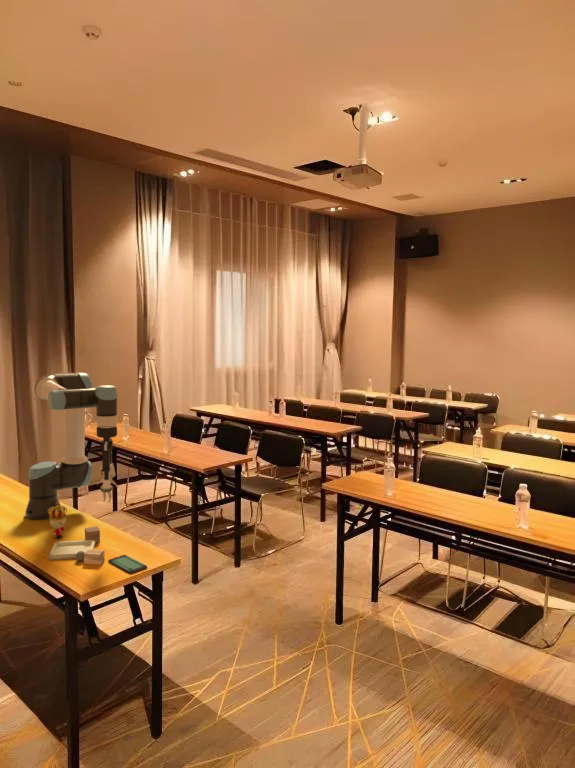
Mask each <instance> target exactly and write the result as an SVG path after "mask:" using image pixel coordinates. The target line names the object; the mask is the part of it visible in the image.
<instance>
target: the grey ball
mask: <svg viewBox="0 0 575 768" xmlns="http://www.w3.org/2000/svg"><path fill="white" fill-rule="evenodd" d="M84 553H85V552H83V551H79V552H78V553H77V554H76V558H75V559H76V560H77V561H79V562H83V561H84Z"/></svg>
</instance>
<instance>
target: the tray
mask: <svg viewBox="0 0 575 768" xmlns="http://www.w3.org/2000/svg"><path fill="white" fill-rule="evenodd" d="M95 546H96V543H95V539H94V540H85V539H80V540H64V541H62V540H61V541H55V542H54V544H53V545H52V548H51V550H50V552H49V554H48V560H49V561H51V560H55V561H56V560H68V559H76V554H77V553H78V552H79V551H83V552H86V551H87V550H89V549H94V550H95Z"/></svg>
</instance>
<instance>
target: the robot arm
mask: <svg viewBox="0 0 575 768" xmlns="http://www.w3.org/2000/svg"><path fill="white" fill-rule="evenodd" d="M117 389H118V388H117V387H116V386H115V385H108V384H107V385H106V384H104V385H101V384H100V385H98V386H93V382H92V379H91V377H90V375H89V374H88V373H86V372H64V373H63V372H62V373H57V372H55V373H48V374H46V375H43V376H42V377H40V378H39V379H38V380H37V381H36V382H35V384H34V392H35V395H36V396H37V397H38V398H39V399H41V400H43V401H47V402H48V403H47V404H48V407H49V409H50V410H52V411H62V410H64V456H63V457H62V458H60V459H61V460H60V462H61V463H59V464H57V462H56V461H54V460H53V461H50V460H49V461H42V462H38V463H36V464H33V465H32V466H30V467H29V468H28V469H29V470H28V478H27V479H28V492H29V493H28V494H29V495H28V496H29V497H28V502H27V504H26V508H25V518H27V519H30V520H34V521H35V520H38V521H39V520H48V519H49V513H48V509H50V508H51V507H53V506H54V507H55V506H56V505H57V504H58V505H59V506H60V507H61V506H62V505H61V503H60V500H59V497H58V491H61V490H62V491H63V490H67V489H75V488H82V487H87V486H88V485H90V483H91V481H92V477H93V469H92V467H93V465H92V462H91V461H90V460H89V459H88V457H87V456H86V455H85V442H86V441H85V440H86V439H85V435H86V434H85V433H86V432H85V430H86V429H85V428H86V412H85V411H86V409H91V408H95V410H96V411H95V412H96V417H95V418H94V420H95V421H96V437H97V438H102V440H101V441H100V444H101V445H100V446H101V455H102V457H101V459H102V462H101V463H102V464H101V466H102V470H101V472H103V477H102V479H103V482H102V485H103V488H111V484H112V483H111V480H113V478H112V479H111V478H110V464H112V465H113V466H114V462H113V445H114V444H113V442H114V440H113V439H112V438H116V437H117V436H118V426H117V425H118V392H117ZM114 467H115V466H114ZM101 472H100V473H101ZM57 502H59V503H57ZM61 508H62V507H61ZM61 508H60V509H61ZM53 509H54V508H53ZM49 511H50V510H49ZM60 511H61V510H60ZM53 512H55V510H54V511H53ZM49 520H50V519H49Z"/></svg>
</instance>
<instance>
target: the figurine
mask: <svg viewBox="0 0 575 768" xmlns="http://www.w3.org/2000/svg"><path fill="white" fill-rule="evenodd" d="M115 469H116V468H115V466H113V465H112V464H110V478H111V479H112V480H111V484H113V485H115V488H119V487H120V486H119V485H118V484H117V482H115V480H113V478H114V477H115V476H116V471H115ZM101 470H102V465H101V466H100V467H99V469H98V472H99V473H100V477H101V479H100V480H99V481H98V482H96V485H99V484H100V483H103V472H101ZM116 477H117V476H116ZM113 485H111V488H103V484H101V486H100V491H101V493H102V497H103V500H102V502H106V501H107V500H106V498H107V496H108V501H107V503H111V502H112V497H113V496H112V494H111V493H112V491H113V490H114V487H113ZM106 493H107V494H106Z"/></svg>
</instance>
